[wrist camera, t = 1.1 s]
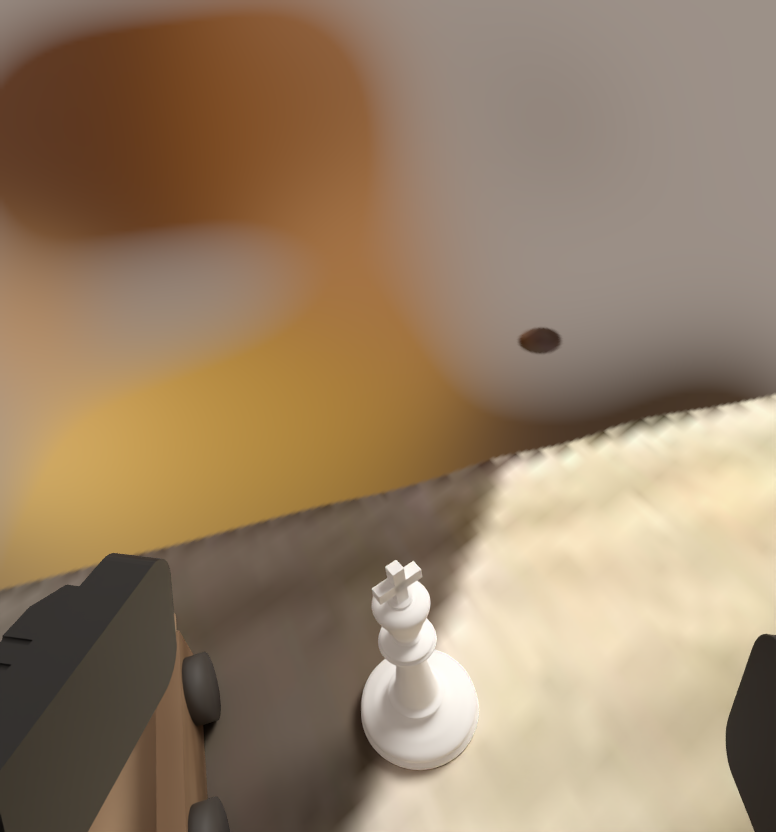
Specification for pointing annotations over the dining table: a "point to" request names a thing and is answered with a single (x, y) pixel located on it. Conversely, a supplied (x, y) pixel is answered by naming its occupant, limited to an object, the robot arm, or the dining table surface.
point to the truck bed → (170, 759)
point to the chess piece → (414, 681)
